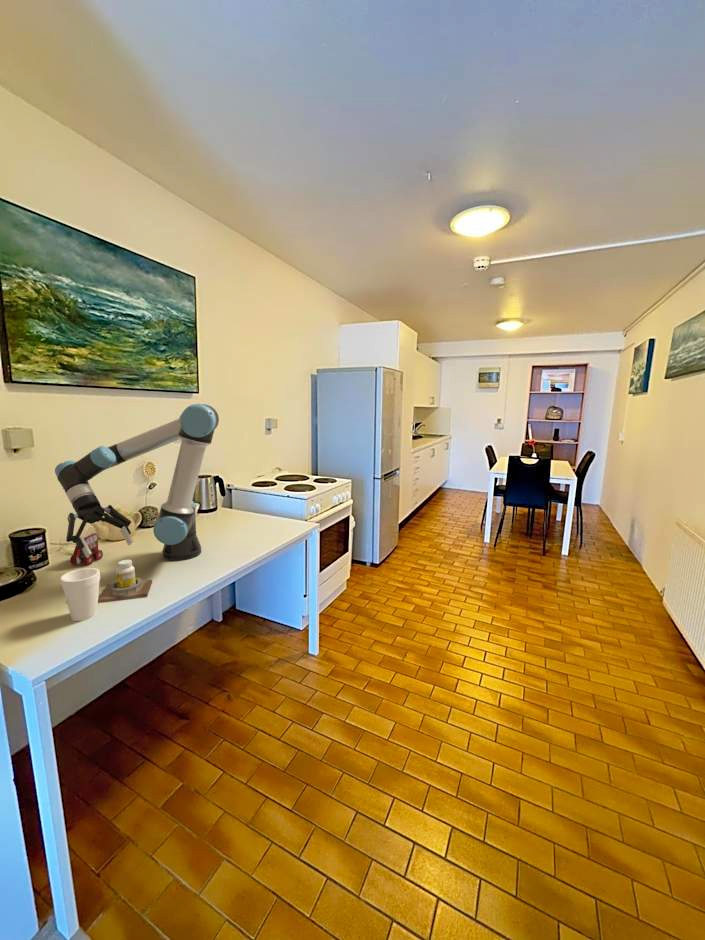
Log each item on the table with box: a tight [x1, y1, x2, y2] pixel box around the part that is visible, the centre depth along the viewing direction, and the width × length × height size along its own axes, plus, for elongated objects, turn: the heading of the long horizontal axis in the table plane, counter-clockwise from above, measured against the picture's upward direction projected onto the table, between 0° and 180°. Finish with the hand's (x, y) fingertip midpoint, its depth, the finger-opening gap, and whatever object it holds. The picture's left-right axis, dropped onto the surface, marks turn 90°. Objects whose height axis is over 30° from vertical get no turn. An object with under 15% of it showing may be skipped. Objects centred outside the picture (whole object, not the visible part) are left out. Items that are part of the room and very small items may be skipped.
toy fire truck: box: [69, 532, 104, 566], centre depth 152 cm, size 7×12×10 cm, turn 176°
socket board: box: [98, 577, 153, 603], centre depth 130 cm, size 14×11×3 cm
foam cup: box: [60, 567, 101, 622], centre depth 114 cm, size 10×9×13 cm
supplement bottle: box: [115, 559, 136, 589], centre depth 129 cm, size 5×5×10 cm
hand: (110, 549), depth 131 cm, fingers open, 13 cm apart
